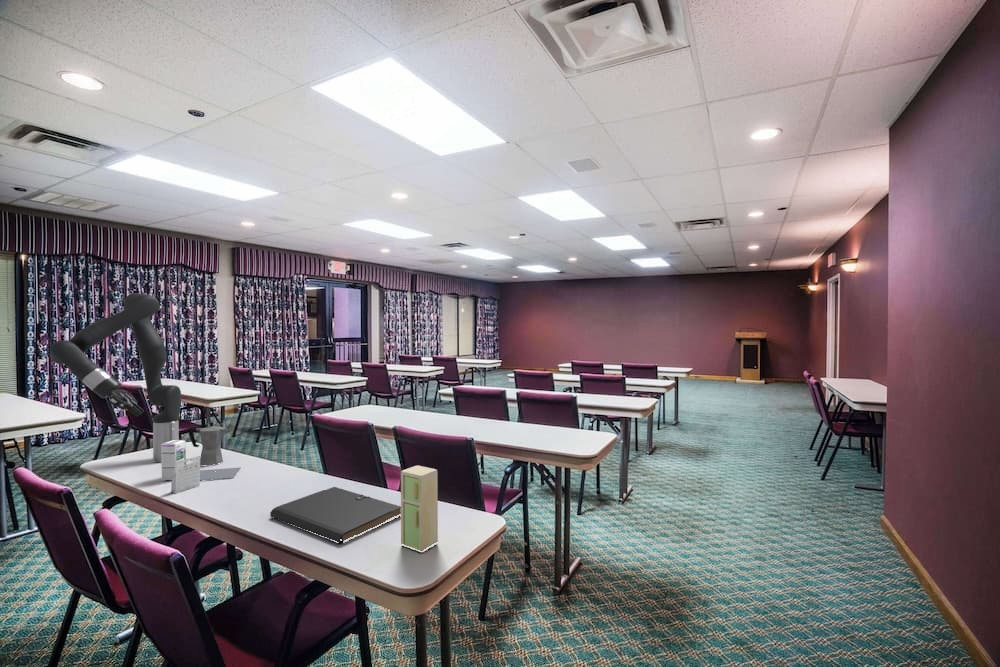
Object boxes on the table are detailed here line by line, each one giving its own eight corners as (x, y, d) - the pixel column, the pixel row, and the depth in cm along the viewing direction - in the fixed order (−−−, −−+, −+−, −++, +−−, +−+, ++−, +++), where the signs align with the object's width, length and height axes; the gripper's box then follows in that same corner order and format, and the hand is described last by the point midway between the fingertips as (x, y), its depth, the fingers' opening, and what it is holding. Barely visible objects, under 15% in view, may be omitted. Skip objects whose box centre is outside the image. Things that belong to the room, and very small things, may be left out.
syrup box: (175, 480, 179) (176, 443, 179) (160, 480, 179) (161, 443, 179) (186, 476, 185) (186, 439, 185) (171, 475, 185) (171, 439, 185)
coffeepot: (231, 459, 209) (231, 419, 209) (224, 465, 200) (224, 423, 200) (193, 461, 205) (193, 420, 205) (183, 467, 196) (184, 425, 196)
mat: (179, 482, 177) (179, 481, 177) (191, 472, 190) (191, 471, 190) (233, 478, 183) (233, 477, 183) (240, 468, 196) (240, 467, 196)
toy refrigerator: (398, 547, 127) (398, 471, 127) (416, 537, 133) (417, 464, 133) (419, 555, 123) (420, 476, 122) (437, 545, 129) (438, 469, 128)
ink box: (170, 493, 166) (170, 461, 166) (195, 484, 175) (195, 454, 175) (175, 494, 165) (175, 462, 165) (200, 485, 174) (200, 455, 174)
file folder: (402, 505, 148) (339, 534, 128) (402, 518, 148) (339, 549, 128) (334, 485, 166) (270, 508, 145) (334, 496, 166) (270, 521, 145)
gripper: (101, 377, 169) (141, 409, 173) (118, 374, 182) (155, 403, 186) (83, 392, 167) (124, 424, 171) (102, 388, 180) (139, 417, 184)
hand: (140, 413), depth 178 cm, fingers closed
